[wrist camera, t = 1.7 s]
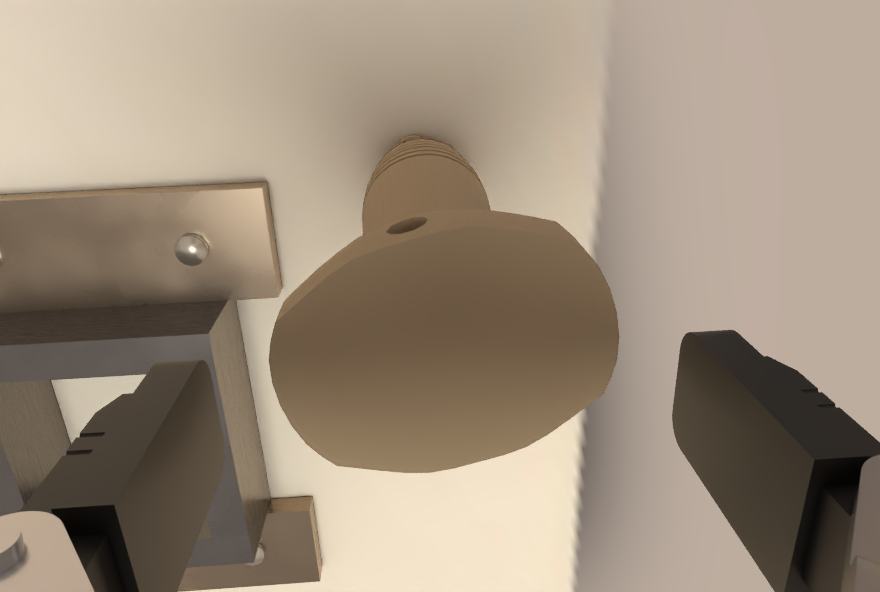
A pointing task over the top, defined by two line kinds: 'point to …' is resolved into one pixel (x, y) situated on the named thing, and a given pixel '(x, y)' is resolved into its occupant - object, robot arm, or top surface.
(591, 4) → the top surface
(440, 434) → the handle
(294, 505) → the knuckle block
